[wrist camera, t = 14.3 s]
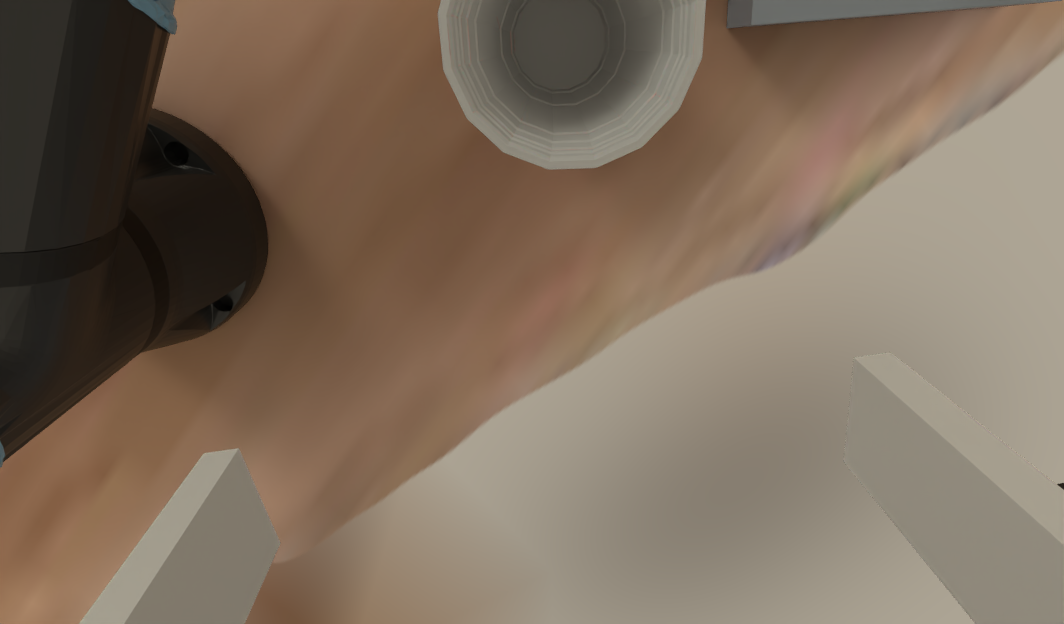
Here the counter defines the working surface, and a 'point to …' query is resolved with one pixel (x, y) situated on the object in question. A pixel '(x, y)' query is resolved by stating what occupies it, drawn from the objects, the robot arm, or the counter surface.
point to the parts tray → (844, 9)
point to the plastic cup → (570, 72)
